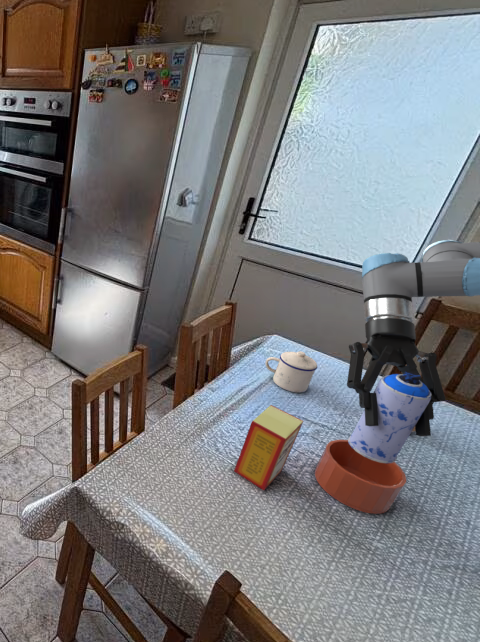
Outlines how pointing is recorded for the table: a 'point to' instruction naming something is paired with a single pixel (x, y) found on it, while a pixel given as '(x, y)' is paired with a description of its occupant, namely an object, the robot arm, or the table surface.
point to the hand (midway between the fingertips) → (397, 430)
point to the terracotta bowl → (358, 478)
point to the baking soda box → (267, 446)
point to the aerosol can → (391, 417)
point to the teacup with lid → (293, 371)
